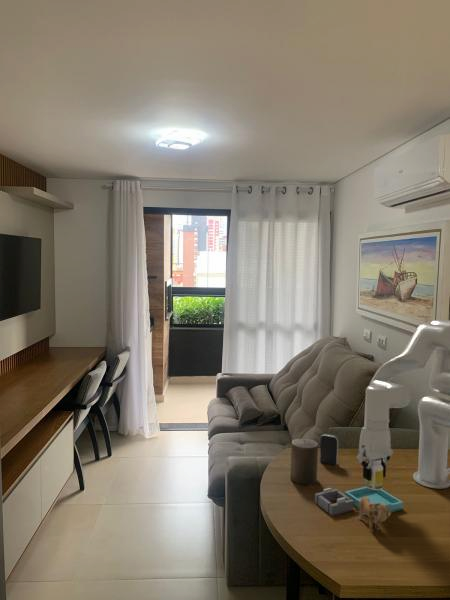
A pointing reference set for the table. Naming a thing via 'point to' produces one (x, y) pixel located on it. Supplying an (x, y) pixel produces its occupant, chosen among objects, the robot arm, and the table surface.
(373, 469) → the supplement bottle
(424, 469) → the robot arm
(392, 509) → the tray
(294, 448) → the pillar candle
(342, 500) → the clip holder
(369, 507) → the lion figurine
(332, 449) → the battery charger
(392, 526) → the table surface
